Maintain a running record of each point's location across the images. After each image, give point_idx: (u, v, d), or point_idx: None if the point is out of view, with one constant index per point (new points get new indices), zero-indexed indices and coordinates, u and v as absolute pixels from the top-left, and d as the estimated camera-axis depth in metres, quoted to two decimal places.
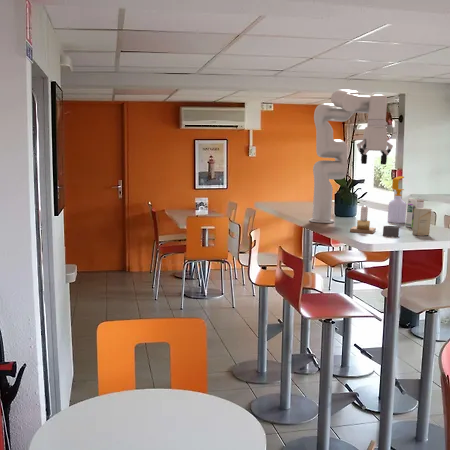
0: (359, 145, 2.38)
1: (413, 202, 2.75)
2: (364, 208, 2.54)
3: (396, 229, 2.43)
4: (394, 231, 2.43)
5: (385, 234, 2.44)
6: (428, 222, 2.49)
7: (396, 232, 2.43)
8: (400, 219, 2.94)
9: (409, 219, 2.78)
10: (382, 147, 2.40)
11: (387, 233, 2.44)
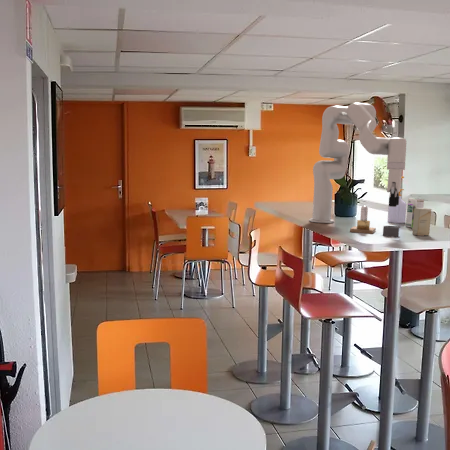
0: (394, 188, 2.36)
1: (413, 202, 2.75)
2: (364, 208, 2.54)
3: (396, 229, 2.43)
4: (394, 231, 2.43)
5: (385, 234, 2.44)
6: (428, 222, 2.49)
7: (396, 232, 2.43)
8: (400, 219, 2.94)
9: (409, 219, 2.78)
10: None
11: (387, 233, 2.44)
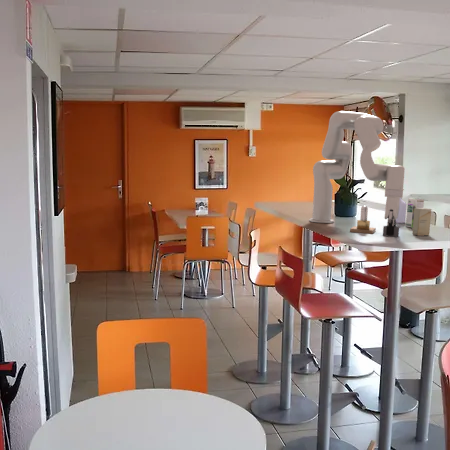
0: (391, 219, 2.38)
1: (413, 202, 2.75)
2: (364, 208, 2.54)
3: (396, 229, 2.43)
4: (394, 231, 2.43)
5: (385, 234, 2.44)
6: (428, 222, 2.49)
7: (396, 232, 2.43)
8: (400, 219, 2.94)
9: (409, 219, 2.78)
10: (397, 216, 2.46)
11: None
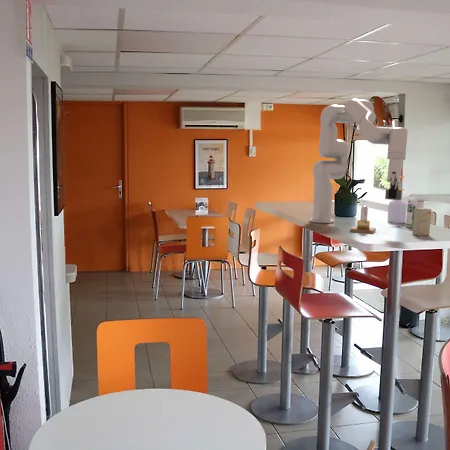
0: (394, 181, 2.36)
1: (413, 202, 2.75)
2: (364, 208, 2.54)
3: (399, 192, 2.41)
4: (397, 194, 2.41)
5: (387, 197, 2.43)
6: (428, 222, 2.49)
7: (399, 195, 2.41)
8: (400, 219, 2.94)
9: (409, 219, 2.78)
10: None
11: None
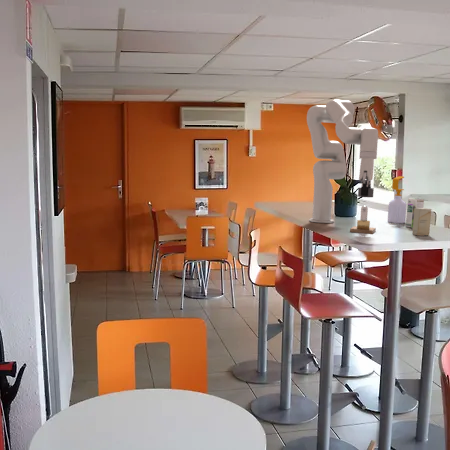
0: (365, 179, 2.47)
1: (413, 202, 2.75)
2: (364, 208, 2.54)
3: (370, 190, 2.51)
4: (368, 192, 2.51)
5: (360, 195, 2.53)
6: (428, 222, 2.49)
7: (370, 193, 2.51)
8: (400, 219, 2.94)
9: (409, 219, 2.78)
10: None
11: None
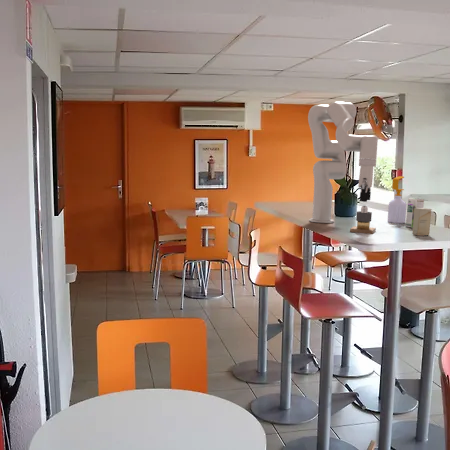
0: (364, 184, 2.46)
1: (413, 202, 2.75)
2: (364, 208, 2.54)
3: (368, 214, 2.53)
4: (366, 216, 2.52)
5: (358, 219, 2.54)
6: (428, 222, 2.49)
7: (368, 217, 2.53)
8: (400, 219, 2.94)
9: (409, 219, 2.78)
10: (371, 185, 2.55)
11: (360, 218, 2.53)
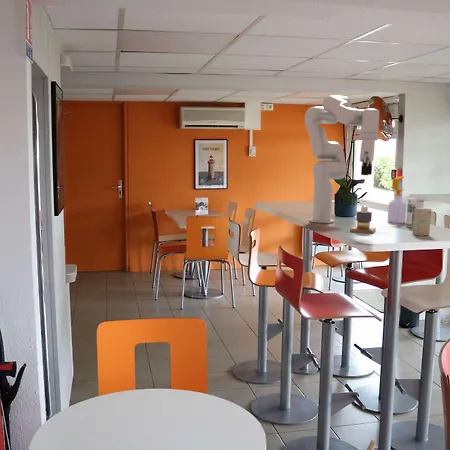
0: (366, 157, 2.45)
1: (413, 202, 2.75)
2: (364, 208, 2.54)
3: (368, 214, 2.53)
4: (366, 216, 2.52)
5: (358, 219, 2.54)
6: (428, 222, 2.49)
7: (368, 217, 2.53)
8: (400, 219, 2.94)
9: (409, 219, 2.78)
10: (372, 159, 2.54)
11: (360, 218, 2.53)
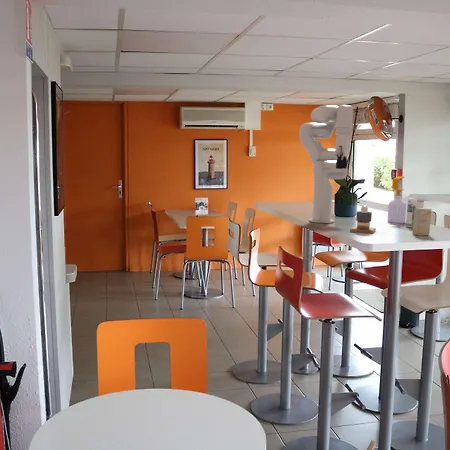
0: (340, 151, 2.56)
1: (413, 202, 2.75)
2: (364, 208, 2.54)
3: (368, 214, 2.53)
4: (366, 216, 2.52)
5: (358, 219, 2.54)
6: (428, 222, 2.49)
7: (368, 217, 2.53)
8: (400, 219, 2.94)
9: (409, 219, 2.78)
10: (347, 153, 2.65)
11: (360, 218, 2.53)
